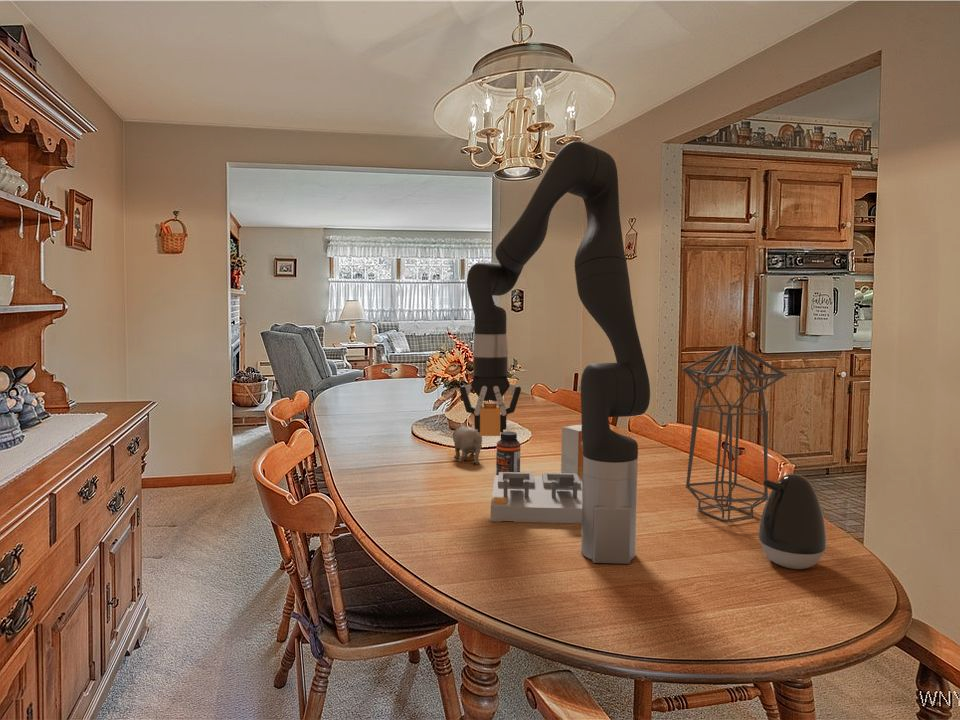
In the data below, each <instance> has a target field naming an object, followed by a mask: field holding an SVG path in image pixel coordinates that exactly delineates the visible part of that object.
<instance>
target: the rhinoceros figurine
mask: <svg viewBox="0 0 960 720" xmlns="http://www.w3.org/2000/svg"><path fill="white" fill-rule="evenodd" d="M452 440H453V442H454V450H455V451H454V452H455V455H454V456H453V458H455V459H458V460H457V462H459V463H463V462H466V461H465V460H467V458H468V455H472V456H474V460H473V463H472V464H473V465H475V466H478V465H481V464H480V460H479V457H480V453H481V450H482V447H483V445H482V444H483V436H480V432H478V430H475V427H473V424H471V423H469V424H468V426H467V425H465V424H462V423H460V424H459V425H458V426H457V427H456V429H455V430H454V431H453V433H452ZM460 451H461V453H460Z"/></svg>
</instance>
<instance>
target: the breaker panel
mask: <svg viewBox="0 0 960 720" xmlns="http://www.w3.org/2000/svg"><path fill="white" fill-rule="evenodd" d="M534 474H535V473H534V472H527V471H526V472H523V471H522V472H521V471H520V472H499V475H496V474H495V475H494V477H493V478H494V479H493V486H492V494H491V500H490V501H491V502H490V522H501V521H514V523H544V524H545V523H547V524H549V523H550V524H551V523H553V524H554V523H555V524H582V478H581V477H578V474H577V473H561V472H542V474H541V475H534ZM559 477H566V478H574V486H573V487H571V488H570V489H556V481H557V479H558V478H559ZM509 478H523V486H509Z"/></svg>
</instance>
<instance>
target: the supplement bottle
mask: <svg viewBox="0 0 960 720" xmlns="http://www.w3.org/2000/svg"><path fill="white" fill-rule="evenodd" d="M517 435H518V433H517V432H515V431H511V430H510V431H506V430H505V431H503V432H500V439H499V440H498V441H497V442H496V451H495V452H496V456H495V457H496V458H495V459H496V460H495V461H496V462H495V463H496V465H495V466H496V468H495V473H496V474H495V475H499V472H521V442H520V441H519V440H518V436H517Z"/></svg>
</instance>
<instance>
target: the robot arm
mask: <svg viewBox="0 0 960 720" xmlns="http://www.w3.org/2000/svg"><path fill="white" fill-rule="evenodd" d="M617 169H618V168H617V164H616V162H615V160H614V158H613V156H611V155H610V154H609V153H607V152H606V151H604V150H601V149H600V148H598V147H595V146H593V145H590V144H588V143H586V142H582V141H579V140H573V141H570V142H568V143H566V144H565V145H564V146H563V147H561V149H560V150H559V151H558V152H557V154H556V155H555V157H554V158H553V160H552V161H551V163H550V164H549V166H548V167H547V169H546V171H545V172H544V175H543V177H542V178H541V180H540V182H539V184H538V185H537V187H536V189H535V191H534V192H533V194H532V196H531V198H530V200H529V201H528V203H527V205H526V206H525V209H524V210H523V212H522V213H521V215H520V217H518V219H517V220H516V222H515V223H514V225H513V226H512V227H511V228H510V229H509V231H507V233H506V234H505V235H504V237H503V238H502V239H501V240H500V241H499V243H498V244H497V246H496V248H495V253H494V254H495V257H496V259H497V261H498V262H496V263H495V262H482V261H481V262H476V263H474V264H472V266H471V267H470V268H469V270H468V272H467V277H466V287H467V292H468V296H469V299H470V300H469V301H470V303H471V304H470V305H471V308H472V311H473V316H474V325H473V326H474V336H473V337H474V338H473V344H472V345H473V349H472V355H473V356H472V357H473V361H472V363H473V365H472V366H473V368H472V369H473V371H472V373H473V374H472V376H473V377H472V381H471V383H470V384H466V385H461V386H460V387H459V391H460V396H461V399H462V402H463V405H464V409H465V411H466V413H469V414H472V415H473V417H474V420H473V421H474V425H473V428H474V429H475V430H478V432H479V433H480V408H481V407H482V406H483V405H484V402H488V401H491V402H496V403H497V406H499V408H500V433H501V432H504V430H505V431H506V430H507V417H508V415H509V414H511V413H512V414H513V413H515V410H516V408H517V405H518V401H519V398H520V396H521V391H522V388H521V386H520V385H519V384H518V385H514V384H512V383H510V381H509V379H508V367H509V366H508V354H509V350H508V348H509V346H508V337H507V312H506V310H505V309H504V308H502V307H500V306H497V305H496V304H495V301H494V300H495V299H494V298H493V296H495V297H498V296H504V295H507V294H509V292H510V291H511V290H512V289H514V287H515V286H516V284H517V281H518V280H519V278H520V276H521V273H522V271H523V268H524V267H525V265H526V264H527V263H528V262H529V261H530V260H531V258H532V257H533V256H534V255H535V254H536V253H537V252H538V251H539V249H540V248H541V246H542V245H543V243H544V241H545V238H546V236H547V231H548V227H549V222H550V216H551V214H552V213H551V212H552V210H553V208H554V207H555V205H556V204H557V202H558V201H560V199H562V197H563V196H564V195H566V194H567V193H568V194H571V195H574V196H577V197H580V198H581V199H582V201H583V202H584V206H585V211H586V223H587V224H586V228H585V232H584V236H583V237H582V238H581V239H582V240H581V241H580V244H579V246H578V248H577V251H576V254H575V257H574V274H575V281H576V289H577V293H578V297H579V300H580V301H581V303H582V305H583V306H584V308H585V309H586V311H587V312H588V314H590V316H591V317H592V318H593V320H594V321H595V322H596V323H597V325H598V326H599V327H600V328H601V329H602V331H603V332H604V333H605V335H606V336H607V338H608V340H609V343H610V344H611V346H612V349H613V353H614V356H615V361H616V362H594V363H589V364H587V365H586V366H585V368H584V369H583V372H582V374H581V379H580V412H581V413H580V417H581V425H582V441H583V481H582V523H581V541H580V542H581V544H580V546H581V547H580V549H581V550H580V552H581V554H582V555H583V556H584V557H585V558H588V559H589V560H591V562H592V563H595V564H625V565H626V564H628V565H629V564H631V561H632V560H633V559H635V557H636V541H637V540H636V535H637V533H636V532H637V499H638V498H637V497H638V496H637V495H638V465H639V464H638V463H639V462H638V461H639V445H638V442H637V440H635V439H634V438H632V437H630V436H627V435H624V434H621V433H617V432H615V431H614V430H613V429H611V428H610V421H609V420H610V419H609V418H623V417H637V416H642V415H644V414H645V413H646V412H647V410H648V408H649V407H650V400H651V386H650V379H649V374H648V370H647V365H646V361H645V357H644V354H643V349H642V344H641V342H640V336H639V333H638V330H637V323H636V318H635V312H634V307H633V305H634V304H633V298H632V292H631V291H632V290H631V285H630V284H631V282H630V275H629V270H628V262H627V257H626V253H625V246H624V240H623V239H624V238H623V231H622V224H621V215H620V199H619V197H620V195H619V194H620V193H619V177H618V176H619V175H618V170H617ZM471 389H472V390H473V391H474V393H475V394H476V396H477V397H478V398H477V402H476V405H475V407H473V406H472V404H471V400H470V397H469V395H470V394H471ZM508 390H510V394H511V395H512V397H511V399H510V404H509V406H507V407H506V406H505V402H504V399H503V397H504V395H505V394H506V393H507V391H508Z"/></svg>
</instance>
